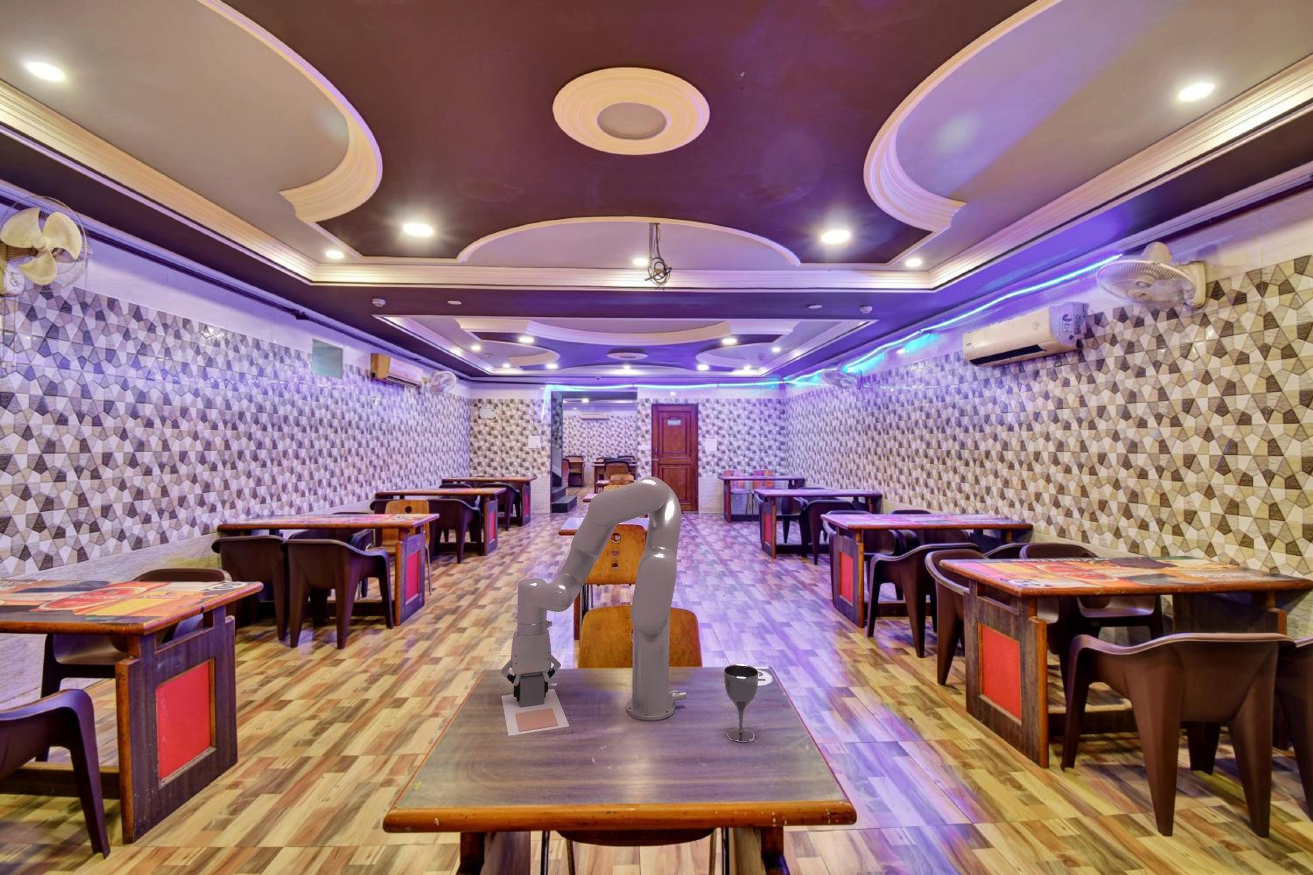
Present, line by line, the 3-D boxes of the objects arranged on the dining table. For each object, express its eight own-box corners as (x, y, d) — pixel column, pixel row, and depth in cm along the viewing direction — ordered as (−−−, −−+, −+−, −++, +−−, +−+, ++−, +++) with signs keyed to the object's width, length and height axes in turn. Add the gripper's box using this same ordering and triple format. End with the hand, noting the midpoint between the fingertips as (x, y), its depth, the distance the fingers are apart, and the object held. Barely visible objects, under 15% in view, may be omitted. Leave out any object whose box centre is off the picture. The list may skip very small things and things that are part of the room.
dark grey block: (540, 694, 148) (541, 668, 149) (544, 704, 143) (544, 676, 143) (517, 697, 146) (518, 670, 146) (520, 707, 141) (520, 679, 141)
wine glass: (764, 734, 131) (764, 670, 132) (745, 747, 125) (745, 680, 126) (736, 723, 137) (736, 661, 137) (717, 735, 131) (717, 670, 131)
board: (554, 694, 152) (554, 687, 152) (569, 732, 131) (569, 724, 131) (501, 701, 147) (501, 694, 147) (508, 742, 127) (508, 734, 127)
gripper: (562, 620, 151) (561, 687, 151) (496, 626, 146) (495, 695, 145) (567, 628, 144) (566, 698, 144) (498, 635, 139) (497, 708, 138)
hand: (530, 696), depth 145 cm, fingers closed on dark grey block, 5 cm apart
